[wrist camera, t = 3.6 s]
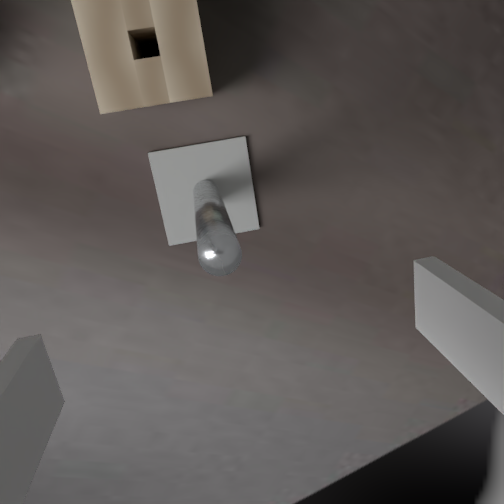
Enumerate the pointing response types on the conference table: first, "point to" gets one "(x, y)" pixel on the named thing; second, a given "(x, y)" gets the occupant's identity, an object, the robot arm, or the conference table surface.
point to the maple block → (130, 55)
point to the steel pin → (214, 231)
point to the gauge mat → (203, 168)
